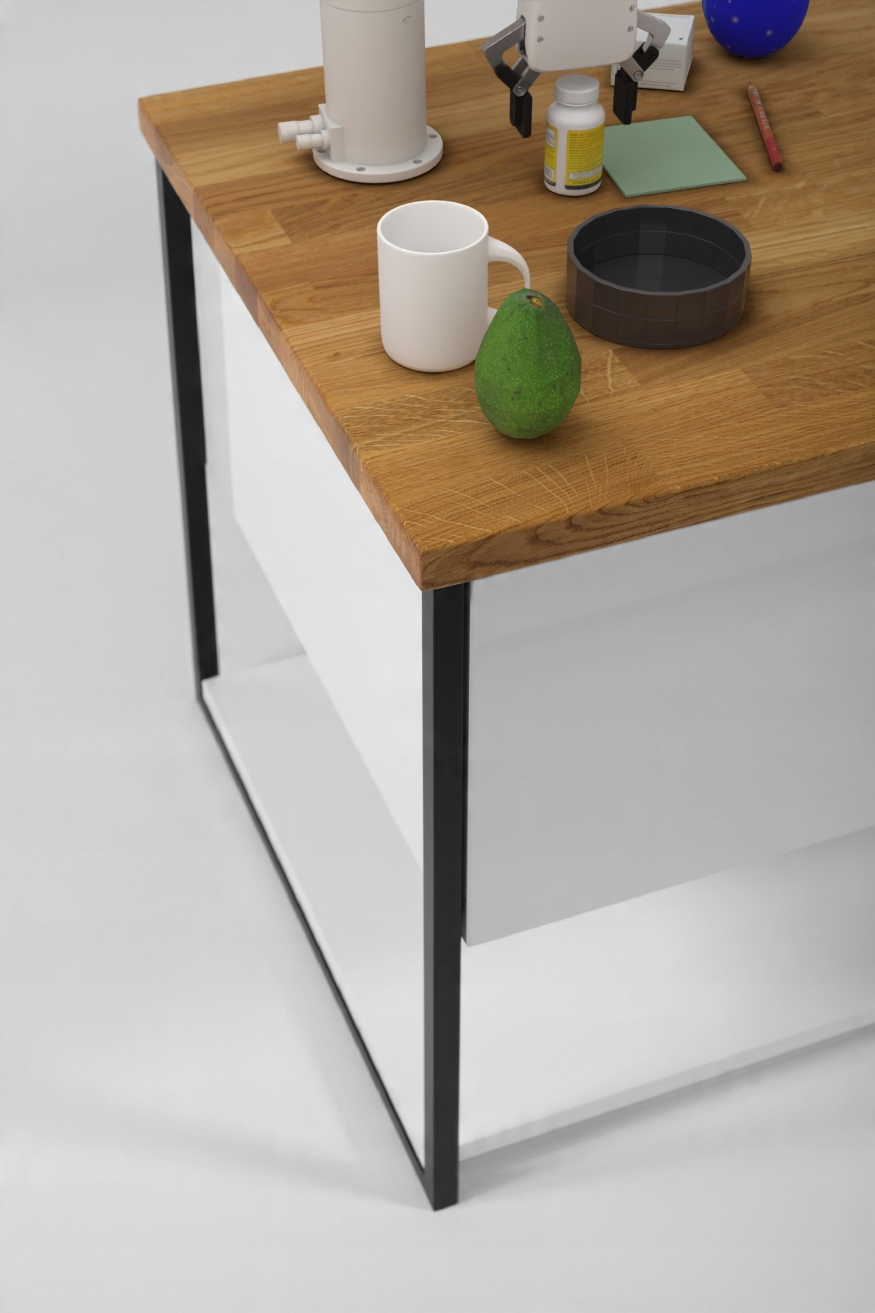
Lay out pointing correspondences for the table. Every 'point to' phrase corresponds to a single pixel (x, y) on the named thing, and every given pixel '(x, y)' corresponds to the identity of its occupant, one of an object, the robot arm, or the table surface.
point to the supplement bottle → (574, 137)
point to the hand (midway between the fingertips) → (572, 125)
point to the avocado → (527, 367)
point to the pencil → (765, 128)
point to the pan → (657, 276)
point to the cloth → (665, 157)
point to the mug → (437, 283)
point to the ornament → (754, 24)
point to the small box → (668, 54)
